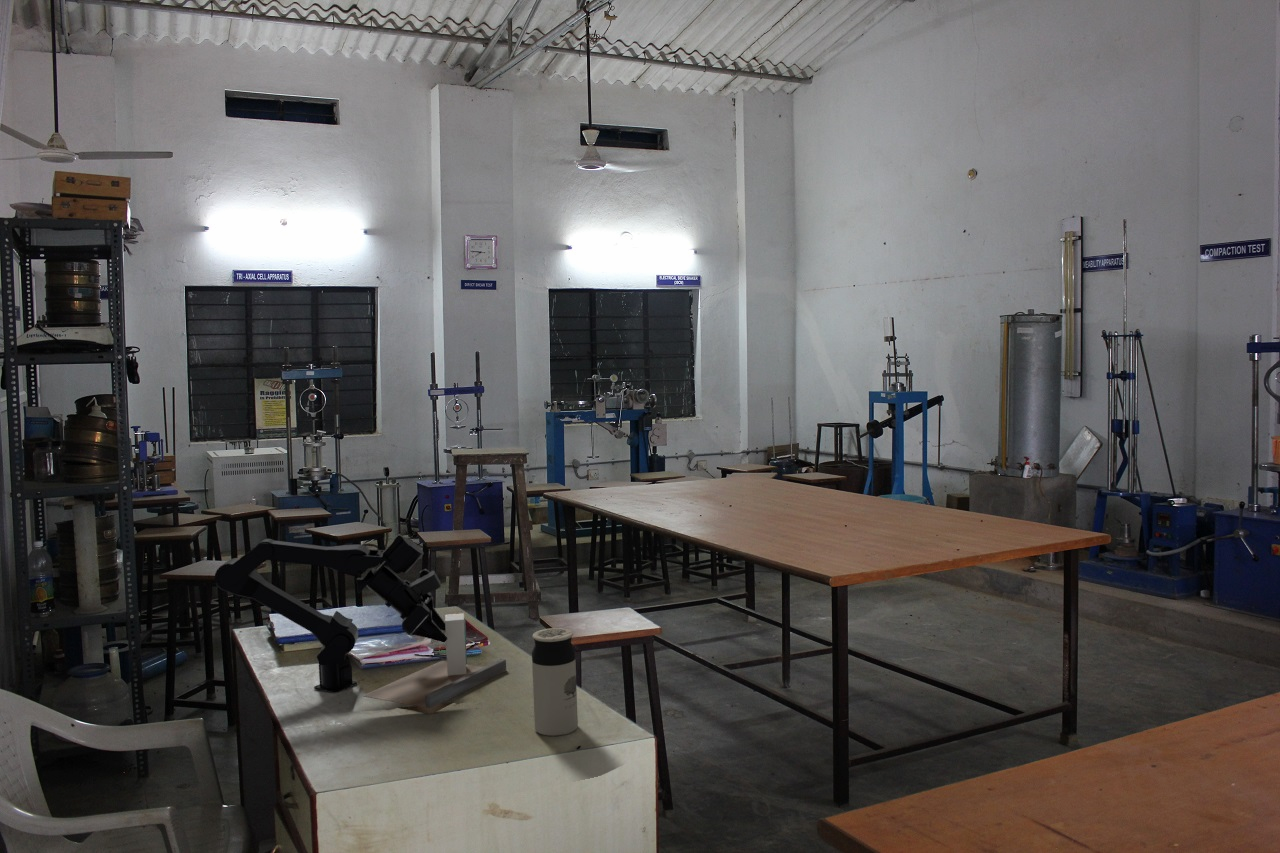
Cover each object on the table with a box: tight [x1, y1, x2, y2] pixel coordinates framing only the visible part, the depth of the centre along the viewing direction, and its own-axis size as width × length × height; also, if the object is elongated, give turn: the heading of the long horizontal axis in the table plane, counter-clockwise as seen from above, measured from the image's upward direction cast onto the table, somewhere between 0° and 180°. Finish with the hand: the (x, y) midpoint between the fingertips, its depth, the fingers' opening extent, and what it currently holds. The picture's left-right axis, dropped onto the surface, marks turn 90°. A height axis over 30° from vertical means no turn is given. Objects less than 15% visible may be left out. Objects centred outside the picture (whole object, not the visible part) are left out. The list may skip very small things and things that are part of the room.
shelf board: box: [362, 658, 507, 715], centre depth 202 cm, size 18×25×4 cm
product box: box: [444, 612, 468, 676], centre depth 209 cm, size 4×6×12 cm
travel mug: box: [531, 627, 579, 737], centre depth 176 cm, size 8×8×18 cm
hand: (446, 634), depth 208 cm, fingers open, 9 cm apart
